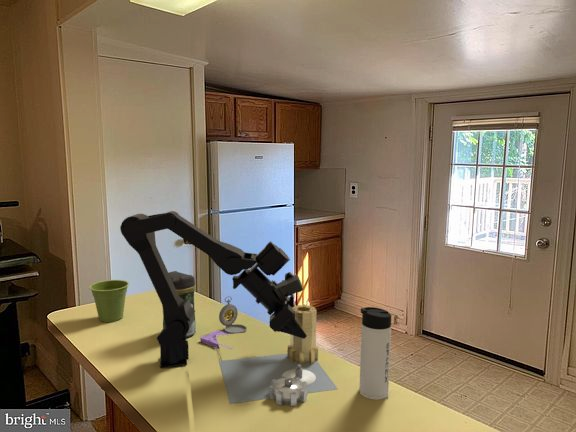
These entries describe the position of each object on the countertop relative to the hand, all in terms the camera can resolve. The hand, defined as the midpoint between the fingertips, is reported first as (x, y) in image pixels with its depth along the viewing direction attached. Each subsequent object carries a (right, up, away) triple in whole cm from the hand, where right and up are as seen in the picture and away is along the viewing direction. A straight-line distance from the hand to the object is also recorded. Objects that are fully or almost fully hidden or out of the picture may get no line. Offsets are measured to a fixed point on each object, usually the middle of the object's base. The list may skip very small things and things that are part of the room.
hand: (304, 330), depth 110 cm
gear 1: (0, -7, +1) cm, 8 cm away
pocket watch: (-21, -6, +22) cm, 31 cm away
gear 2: (-4, -10, -17) cm, 20 cm away
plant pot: (-62, -4, +30) cm, 69 cm away
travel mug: (+14, -11, -15) cm, 23 cm away
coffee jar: (-37, -6, +18) cm, 41 cm away
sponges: (-22, -8, +12) cm, 26 cm away
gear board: (-7, -10, -8) cm, 14 cm away
